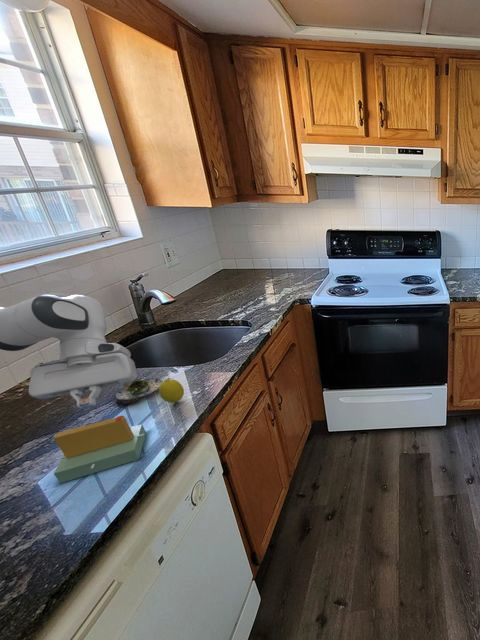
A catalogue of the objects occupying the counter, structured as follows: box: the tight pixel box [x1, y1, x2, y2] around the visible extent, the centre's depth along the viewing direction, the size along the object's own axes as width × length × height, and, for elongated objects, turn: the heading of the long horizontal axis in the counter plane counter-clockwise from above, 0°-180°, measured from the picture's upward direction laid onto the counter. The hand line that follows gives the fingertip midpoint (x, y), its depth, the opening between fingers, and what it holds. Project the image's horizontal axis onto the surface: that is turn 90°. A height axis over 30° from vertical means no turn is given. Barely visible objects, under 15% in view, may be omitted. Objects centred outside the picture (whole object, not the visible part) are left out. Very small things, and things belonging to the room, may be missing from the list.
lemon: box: [158, 378, 185, 404], centre depth 106 cm, size 6×6×8 cm
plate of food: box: [114, 375, 163, 405], centre depth 111 cm, size 12×12×8 cm
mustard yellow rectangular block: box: [53, 415, 134, 458], centre depth 85 cm, size 12×2×6 cm, turn 120°
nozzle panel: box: [53, 423, 147, 484], centre depth 87 cm, size 16×16×3 cm
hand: (86, 406), depth 91 cm, fingers closed
